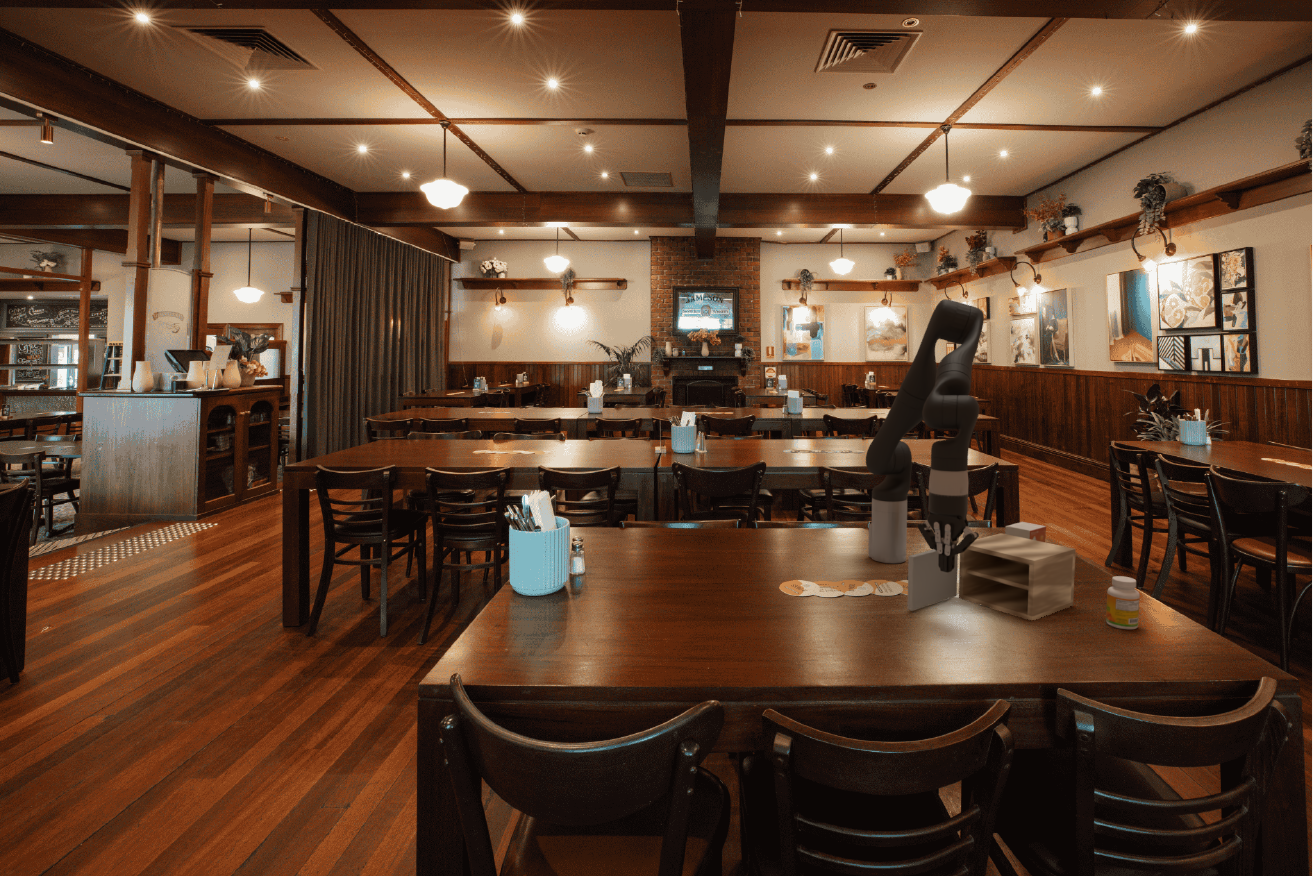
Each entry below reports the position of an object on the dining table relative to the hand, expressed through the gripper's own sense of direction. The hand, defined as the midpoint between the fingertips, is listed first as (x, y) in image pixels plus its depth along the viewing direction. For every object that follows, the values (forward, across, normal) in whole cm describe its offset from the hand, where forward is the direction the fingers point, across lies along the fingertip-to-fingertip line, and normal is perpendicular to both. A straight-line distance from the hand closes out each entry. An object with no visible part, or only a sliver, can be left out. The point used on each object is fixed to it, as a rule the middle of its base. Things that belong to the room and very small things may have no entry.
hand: (946, 571), depth 139 cm
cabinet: (+10, -4, -21) cm, 24 cm away
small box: (+11, +4, -42) cm, 43 cm away
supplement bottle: (+10, -24, -25) cm, 36 cm away
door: (+10, +7, -6) cm, 13 cm away
